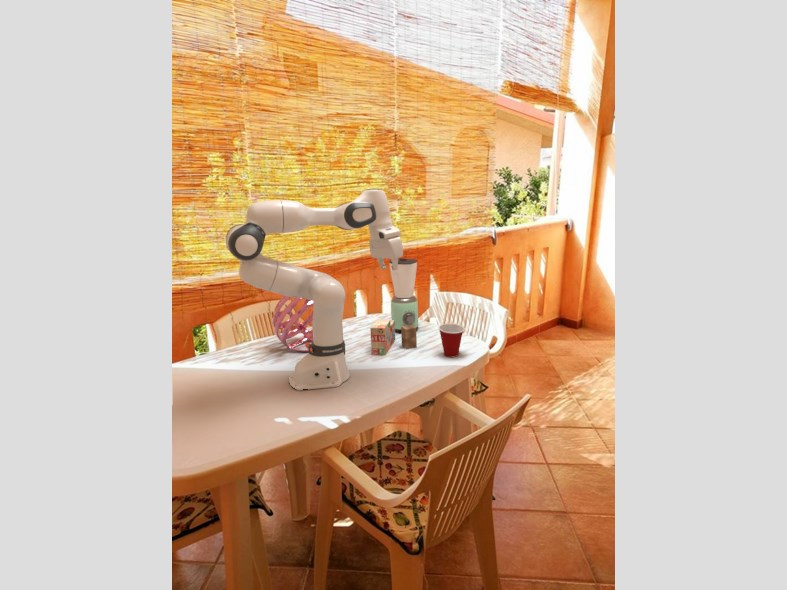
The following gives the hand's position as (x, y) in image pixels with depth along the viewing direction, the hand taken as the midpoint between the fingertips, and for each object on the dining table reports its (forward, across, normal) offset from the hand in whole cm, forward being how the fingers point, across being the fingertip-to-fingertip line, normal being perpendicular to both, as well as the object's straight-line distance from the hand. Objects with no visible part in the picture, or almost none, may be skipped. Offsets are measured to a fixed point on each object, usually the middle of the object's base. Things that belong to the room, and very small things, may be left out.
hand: (389, 269), depth 181 cm
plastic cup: (+42, -5, +23) cm, 48 cm away
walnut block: (+39, -23, +13) cm, 47 cm away
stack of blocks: (+37, -29, +4) cm, 48 cm away
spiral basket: (+31, -49, -25) cm, 63 cm away
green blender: (+38, -46, +24) cm, 64 cm away
